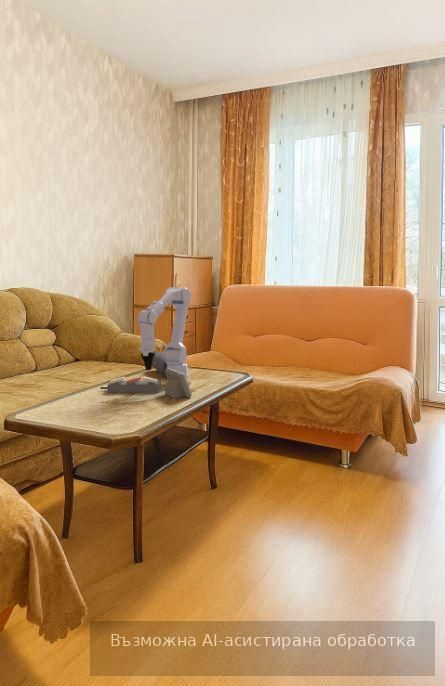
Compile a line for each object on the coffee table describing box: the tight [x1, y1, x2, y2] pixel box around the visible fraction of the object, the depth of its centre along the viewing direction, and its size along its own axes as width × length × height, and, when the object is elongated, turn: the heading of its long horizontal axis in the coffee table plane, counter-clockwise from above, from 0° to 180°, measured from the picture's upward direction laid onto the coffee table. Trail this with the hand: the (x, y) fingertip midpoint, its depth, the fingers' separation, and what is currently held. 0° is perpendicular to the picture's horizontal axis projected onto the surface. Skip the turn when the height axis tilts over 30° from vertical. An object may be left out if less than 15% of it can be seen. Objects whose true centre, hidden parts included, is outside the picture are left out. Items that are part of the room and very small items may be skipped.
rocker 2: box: [125, 376, 142, 383], centre depth 224 cm, size 6×3×1 cm, turn 88°
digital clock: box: [164, 368, 193, 399], centre depth 217 cm, size 16×9×11 cm, turn 19°
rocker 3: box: [142, 375, 158, 383], centre depth 224 cm, size 6×3×1 cm, turn 90°
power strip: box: [99, 379, 162, 394], centre depth 226 cm, size 26×8×4 cm, turn 89°
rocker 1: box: [109, 376, 126, 383], centre depth 224 cm, size 6×3×1 cm, turn 88°
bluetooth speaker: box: [152, 351, 167, 377], centre depth 261 cm, size 23×9×10 cm, turn 23°
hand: (148, 369), depth 223 cm, fingers closed
